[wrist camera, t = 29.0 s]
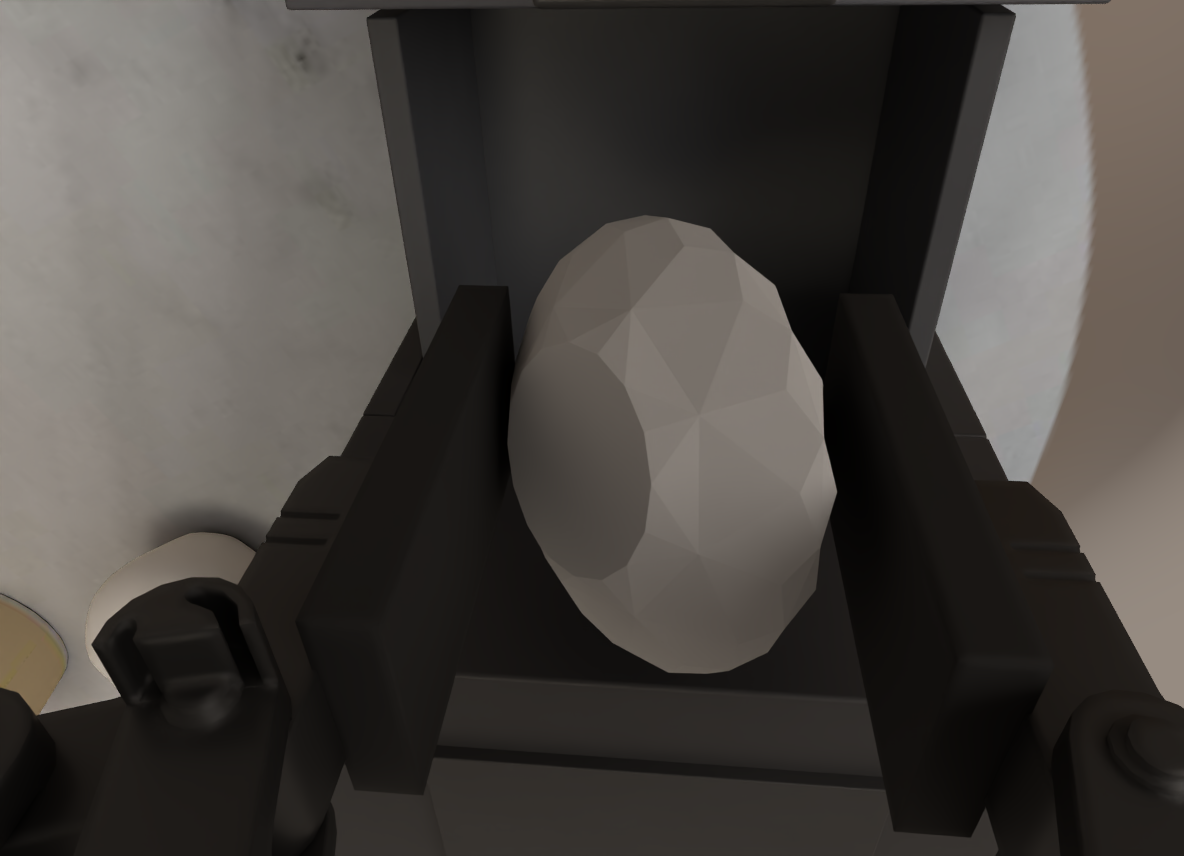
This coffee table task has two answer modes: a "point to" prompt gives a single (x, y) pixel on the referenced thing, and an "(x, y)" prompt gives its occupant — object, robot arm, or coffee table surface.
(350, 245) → the coffee table surface
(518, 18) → the basket
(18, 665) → the coffee cup
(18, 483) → the coffee table surface
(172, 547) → the plain white apple
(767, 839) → the box
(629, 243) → the gemstone
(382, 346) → the coffee table surface
